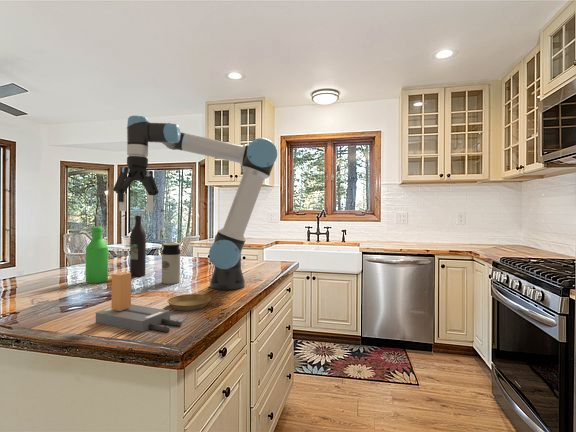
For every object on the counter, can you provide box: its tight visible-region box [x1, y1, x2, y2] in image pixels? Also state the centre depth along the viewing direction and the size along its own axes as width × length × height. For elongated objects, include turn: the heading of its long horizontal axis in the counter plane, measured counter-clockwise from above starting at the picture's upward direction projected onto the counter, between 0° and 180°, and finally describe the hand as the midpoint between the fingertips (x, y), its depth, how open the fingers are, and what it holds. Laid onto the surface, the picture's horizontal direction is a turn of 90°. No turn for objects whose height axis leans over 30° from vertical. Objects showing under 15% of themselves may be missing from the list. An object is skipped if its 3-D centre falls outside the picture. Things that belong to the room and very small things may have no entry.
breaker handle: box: [110, 271, 132, 311], centre depth 105 cm, size 4×4×11 cm
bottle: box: [85, 226, 109, 284], centre depth 156 cm, size 9×9×25 cm
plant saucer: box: [166, 293, 212, 311], centre depth 121 cm, size 15×15×3 cm
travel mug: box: [161, 242, 181, 285], centre depth 158 cm, size 8×8×18 cm
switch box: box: [95, 303, 183, 333], centre depth 102 cm, size 25×11×3 cm, turn 68°
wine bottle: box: [129, 215, 147, 278], centre depth 171 cm, size 7×7×30 cm
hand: (137, 211), depth 135 cm, fingers open, 13 cm apart
